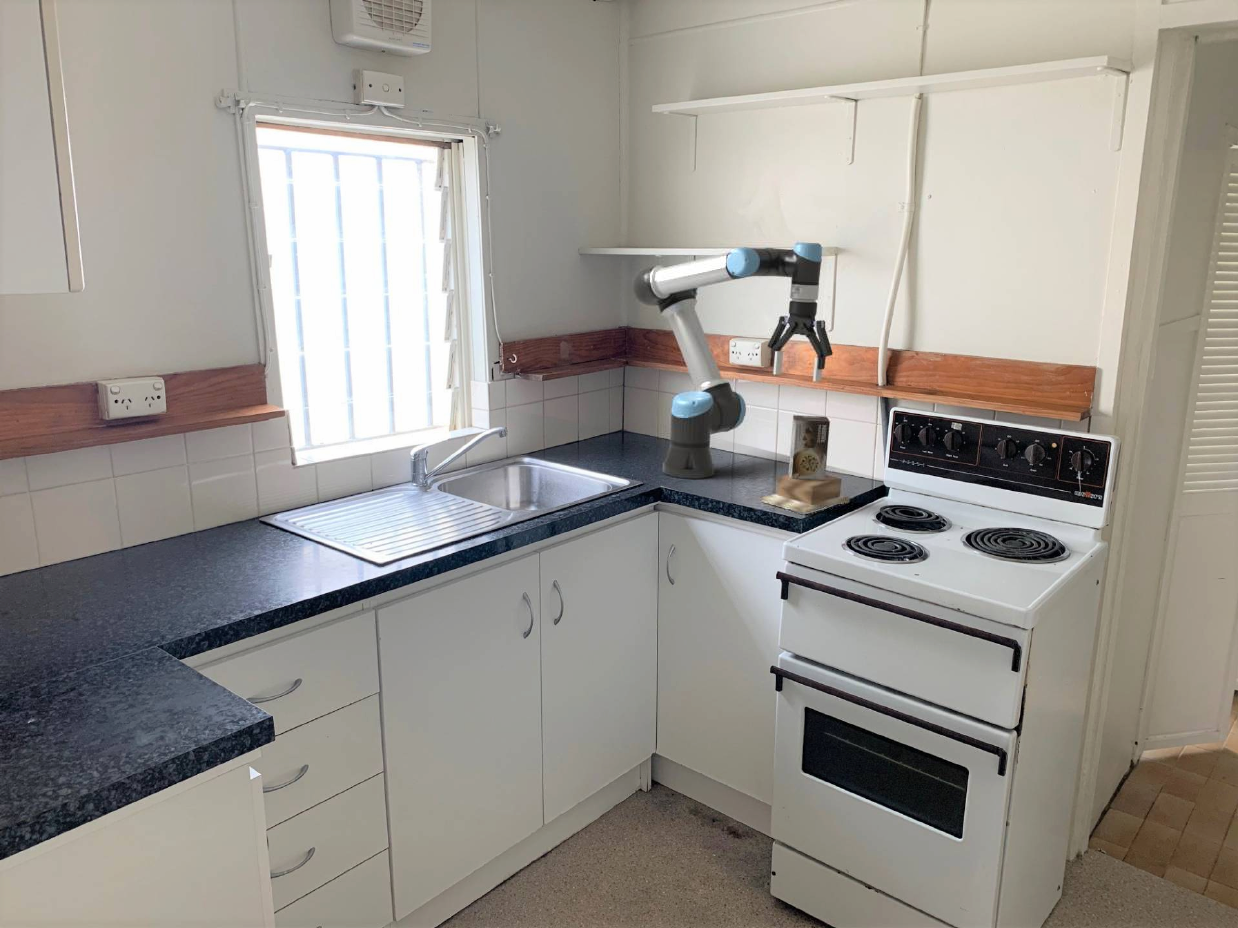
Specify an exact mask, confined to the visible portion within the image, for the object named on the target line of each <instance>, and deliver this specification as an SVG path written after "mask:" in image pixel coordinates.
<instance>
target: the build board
mask: <svg viewBox="0 0 1238 928" xmlns="http://www.w3.org/2000/svg"><path fill="white" fill-rule="evenodd" d="M850 498H851V497H850V496H846V495H843V494H840V497H837V498H834V499H830V500H827V501H823V502H819V503H816V504H812V505H810V504H806V503H803V502H799V501H796V500H792V499H789V498H785V497H782V496H778V495H777V492H776V493H773V494H769V495H765V496H761V502H764V503H769V504H771V505H776V506H778V507H783V508H785V509H791V510H794V511H799V512H804V513H806V512H811V511H815V510H818V509H822V508H824V507H829V506H831V505H835V504H842V505H845V504H849V503H850ZM764 503H763V504H764ZM844 503H845V504H844ZM771 505H770V506H771ZM778 507H777V508H778Z"/></svg>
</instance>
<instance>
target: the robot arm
mask: <svg viewBox="0 0 1238 928" xmlns="http://www.w3.org/2000/svg"><path fill="white" fill-rule="evenodd" d="M822 251H823V247H822V245H821V243H818V242H798V241H797V242H796V243H794V246H793V248H792V249H791V248H789V249H787V248H774V247H765V248H764V247H763V248H762V247H761V248H760V247H759V248H758V247H747V246H745V247H744V246H743V247H737V248H734V249H733V250H731V251H730V252H726V253H720V254H717V255H712V256H708V257H704V258H700V259H696V260H692V261H687V262H683V263H679V264H675V265H671V266H664V265H655V266H646V267H643V268H642V269H639V271H638V272H636V274H635V275H634V277H633V280H632V281H631V282H632V284H631V285H632V286H631V289H632V293H633V295H634V297H635V298H636V299H637V300H638V302H640V303H641V304H643V305H646V306H651V307H652V306H654V307H655V306H657V307H658V309H659V312H660V314H661V316H662V317H663V318H665V319H668V321H669V323H670V326H671V329H672V331H673V334H674V337H675V339H676V342H677V345H678V347H679V349H680V353H681V354H682V358H683V360H684V361H685V365H686V367H687V370H688V373H689V375H690V378H691V380H692V382H693V385H694V388H695V390H694V391H685V392H682V393H681V392H680V393H678V394H677V395H675V396H674V397H673V399H672V405H671V406H672V407H671V410H670V411H671V412H670V413H671V419H670V437H669V438H670V442H669V448H668V449H667V452H666V456H665V458H664V461H663V463H662V472H663V473H664V474H666V475H668V476H671V477H675V478H680V479H681V478H682V479H693V480H694V479H705V478H710V477H713V476H714V474H715V464H714V463H713V459H712V457H713V456H712V454H711V453H712V452H711V448H710V446H711V435H714V434H719V433H727V432H729V431H731V430H734V429H738V427H739V426H740V425H742V424H743V422H744V420H745V416H746V415H747V414H746V413H747V406H746V405H747V404H746V401H745V399H744V398H743V396H742V395H741V394H740V393H738V392H736V391H733V389H732V386H731V384H730V381H727V380H725V379H723V377H722V374H721V372H720V370H719V368H718V365H717V362H716V360H715V357H714V354H713V351H712V350H711V349H712V348H711V347H710V344H709V342H708V340H707V337H706V335H705V332H704V329H703V326H702V324H701V321H700V319H699V316H698V314H697V312H696V305H697V303H698V301H697V296H698V289H699V288H702V287H707V286H710V285H711V286H712V285H716V284H720V283H725V282H730V281H734V280H740V279H745V278H750V277H779V278H782V277H783V278H786V277H787V278H791V282H790V283H791V284H790V292H789V293H790V295H789V298H790V299H791V300H789V306H788V314H789V317H788V315H781V316H779V318H778V323H777V326H776V327H775V329H774V331H773V333H772V336H771V338H770V340H769V342H767V343H768V344H767V348H769V349H771V350H772V362H773V375H774V376H775V375H782V369H783V359H784V358H783V357H784V350H783V348H784V346H785V345H786V344H788V342H789V341H790V339H791V338H792V337H793V336H794V335H799V336H805V337H806V339H807V340H808V341H809V343H810V345H811V346H812V348H813V350H814V352H815V353H816V355H817V356H816V357H815V358H814V367H813V378H812V381H813V382H820V381H822V375H823V370H824V369H825V368H826V367H825V366H826V358H827V357H830V356H833V353H834V352H833V350H832V347H831V343H830V340H829V337H828V333H827V331H826V321H825V320H823V319H822V320H821V319H820V320H816V315H817V311H818V302H817V300H818V299H819V289H820V276H821V267H822V262H823V259H822V256H823V255H822V253H823V252H822ZM787 325H788V327H787ZM786 328H787V329H786ZM814 328H815V329H814ZM785 329H786V330H785Z"/></svg>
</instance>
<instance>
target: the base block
mask: <svg viewBox="0 0 1238 928" xmlns="http://www.w3.org/2000/svg"><path fill="white" fill-rule="evenodd" d="M777 480H778V481H777V490H776V493H777V495H778V496H782V497H785V498H789V499H792V500H796V501H799V502H803V503H806V504H810V505H812V504H816V503H819V502H823V501H827V500H830V499H834V498H837V497H840V495H841V489H842V481H843V480H842V478H839V477H836V476H832V475H828V474H825V480H810V479H791V477H790V475H789V474H786V475H782V476H778V479H777Z"/></svg>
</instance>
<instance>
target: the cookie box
mask: <svg viewBox="0 0 1238 928" xmlns="http://www.w3.org/2000/svg"><path fill="white" fill-rule="evenodd" d="M830 424H831V420H829V417H828V416H823V415H821V416H819V415H818V416H817V415H795V414H793V416H792V429H791V441H790V451H789V453H790V454H789V465H788V475H790V477H791V479H810V480H825V475H827V474H826V472H827V460H828V451H829V450H828V448H829V439H830V437H829V435H830Z"/></svg>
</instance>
